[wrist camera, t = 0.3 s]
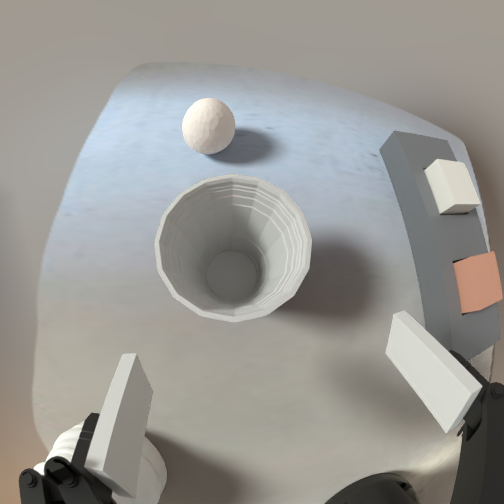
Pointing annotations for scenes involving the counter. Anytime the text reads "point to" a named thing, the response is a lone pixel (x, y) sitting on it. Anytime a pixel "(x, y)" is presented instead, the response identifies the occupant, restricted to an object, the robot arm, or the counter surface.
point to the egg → (208, 126)
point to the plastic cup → (233, 247)
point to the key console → (439, 245)
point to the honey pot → (149, 472)
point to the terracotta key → (478, 282)
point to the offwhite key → (451, 187)
